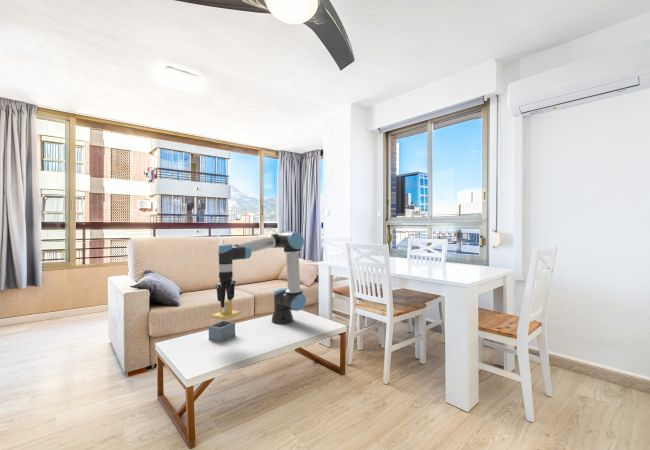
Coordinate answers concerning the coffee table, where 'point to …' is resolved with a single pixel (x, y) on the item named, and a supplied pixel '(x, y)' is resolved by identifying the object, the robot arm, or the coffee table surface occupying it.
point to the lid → (228, 314)
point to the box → (221, 330)
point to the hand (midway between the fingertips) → (226, 311)
